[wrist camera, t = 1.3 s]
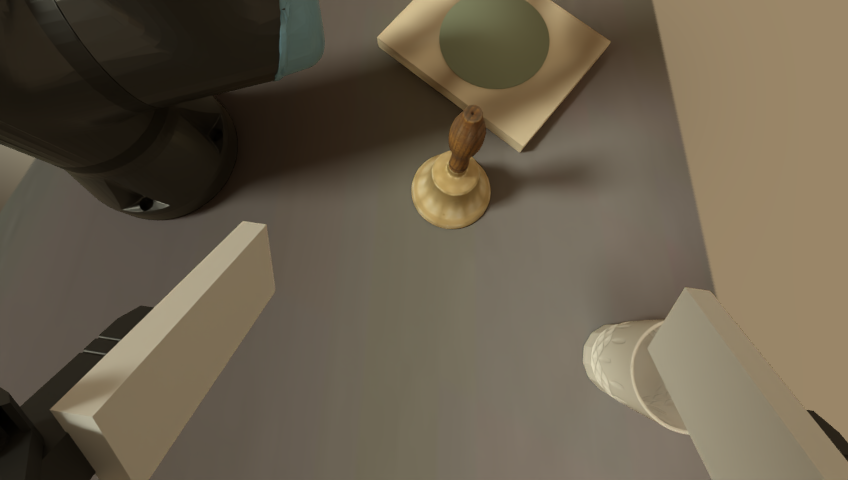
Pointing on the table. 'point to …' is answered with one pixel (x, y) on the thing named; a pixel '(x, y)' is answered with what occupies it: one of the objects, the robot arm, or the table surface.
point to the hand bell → (455, 176)
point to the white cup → (631, 370)
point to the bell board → (496, 57)
